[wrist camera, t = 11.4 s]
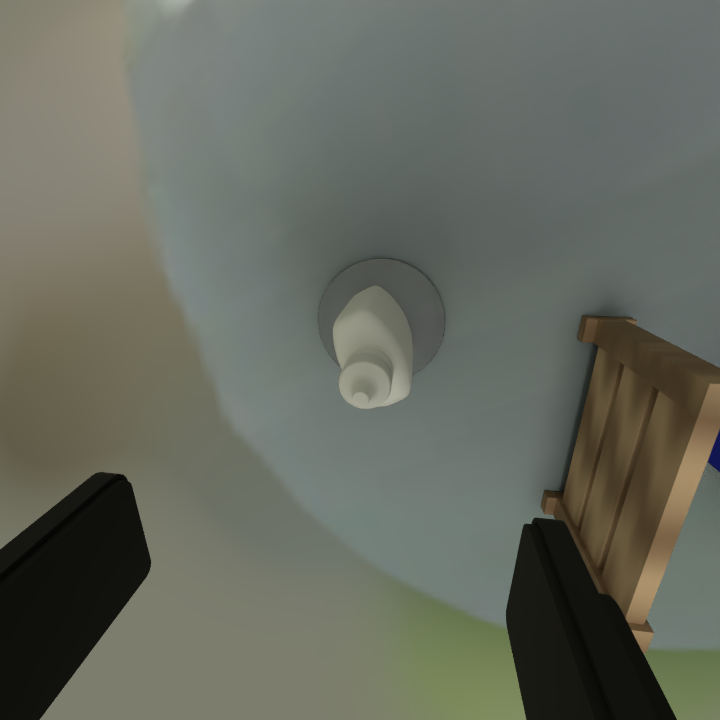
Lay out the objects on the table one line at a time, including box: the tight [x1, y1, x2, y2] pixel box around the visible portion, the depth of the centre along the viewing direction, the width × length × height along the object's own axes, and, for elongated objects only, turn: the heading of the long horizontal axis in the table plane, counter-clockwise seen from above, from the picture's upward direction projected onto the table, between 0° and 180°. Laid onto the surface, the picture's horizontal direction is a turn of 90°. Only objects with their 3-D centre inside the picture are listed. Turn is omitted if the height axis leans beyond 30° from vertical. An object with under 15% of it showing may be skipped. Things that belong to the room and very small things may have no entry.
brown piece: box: [541, 316, 720, 653], centre depth 23 cm, size 16×3×11 cm, turn 0°
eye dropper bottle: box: [333, 285, 413, 409], centre depth 22 cm, size 4×6×12 cm
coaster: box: [318, 258, 445, 375], centre depth 28 cm, size 9×9×1 cm
